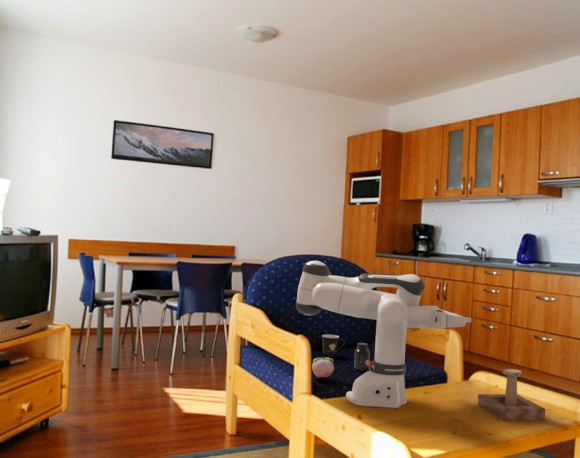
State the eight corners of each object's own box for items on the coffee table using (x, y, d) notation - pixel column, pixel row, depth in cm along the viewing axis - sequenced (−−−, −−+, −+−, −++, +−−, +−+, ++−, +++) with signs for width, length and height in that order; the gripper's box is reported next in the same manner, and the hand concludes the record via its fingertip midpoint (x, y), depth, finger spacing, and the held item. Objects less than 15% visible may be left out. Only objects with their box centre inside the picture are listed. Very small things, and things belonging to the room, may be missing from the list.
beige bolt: (522, 414, 181) (524, 372, 181) (507, 415, 179) (509, 372, 180) (513, 410, 186) (515, 368, 186) (498, 410, 184) (500, 369, 184)
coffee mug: (320, 357, 253) (321, 337, 253) (321, 353, 261) (322, 334, 262) (343, 359, 251) (344, 339, 251) (344, 355, 260) (345, 335, 260)
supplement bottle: (371, 370, 233) (372, 343, 233) (365, 373, 227) (366, 346, 227) (357, 367, 236) (358, 341, 237) (351, 370, 231) (352, 343, 231)
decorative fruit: (328, 376, 219) (329, 352, 219) (335, 381, 211) (337, 357, 211) (307, 376, 216) (309, 353, 216) (314, 382, 208) (316, 357, 208)
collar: (502, 420, 173) (502, 408, 174) (477, 405, 189) (478, 394, 189) (544, 420, 176) (545, 408, 176) (516, 405, 192) (517, 394, 192)
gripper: (420, 320, 212) (451, 321, 214) (443, 329, 192) (477, 330, 194) (421, 305, 212) (452, 306, 214) (444, 313, 192) (478, 314, 194)
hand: (464, 317), depth 204 cm, fingers open, 8 cm apart
